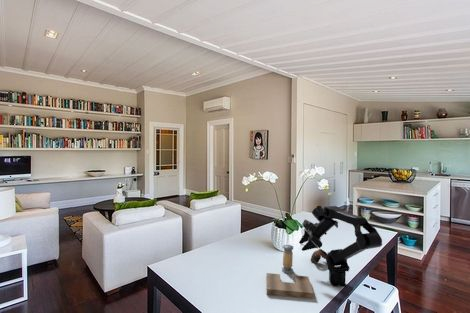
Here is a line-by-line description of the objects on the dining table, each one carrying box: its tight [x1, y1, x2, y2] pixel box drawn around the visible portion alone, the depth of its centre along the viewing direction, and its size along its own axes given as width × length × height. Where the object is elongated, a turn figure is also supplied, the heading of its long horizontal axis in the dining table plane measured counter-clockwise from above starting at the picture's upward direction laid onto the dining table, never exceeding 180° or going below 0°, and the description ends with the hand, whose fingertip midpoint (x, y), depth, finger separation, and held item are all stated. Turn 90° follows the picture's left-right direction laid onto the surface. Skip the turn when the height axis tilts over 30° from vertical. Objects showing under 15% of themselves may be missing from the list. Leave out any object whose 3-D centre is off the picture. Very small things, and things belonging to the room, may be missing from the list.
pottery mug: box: [310, 248, 328, 264], centre depth 140 cm, size 12×10×8 cm
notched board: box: [265, 272, 315, 300], centre depth 114 cm, size 20×14×2 cm
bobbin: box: [281, 244, 294, 274], centre depth 130 cm, size 6×6×13 cm
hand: (300, 246), depth 129 cm, fingers open, 9 cm apart
